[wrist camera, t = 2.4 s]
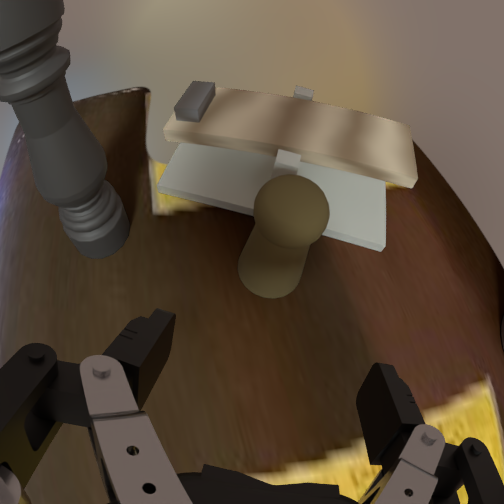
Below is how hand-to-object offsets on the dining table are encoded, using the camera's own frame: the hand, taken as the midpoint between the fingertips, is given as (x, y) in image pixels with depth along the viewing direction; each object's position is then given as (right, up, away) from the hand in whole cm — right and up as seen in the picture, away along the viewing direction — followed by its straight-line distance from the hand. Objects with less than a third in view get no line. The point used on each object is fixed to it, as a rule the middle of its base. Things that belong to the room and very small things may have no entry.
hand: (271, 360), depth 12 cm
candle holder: (-16, +6, +18) cm, 25 cm away
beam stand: (+3, +13, +24) cm, 27 cm away
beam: (+3, +16, +18) cm, 25 cm away
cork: (+1, +3, +18) cm, 19 cm away
